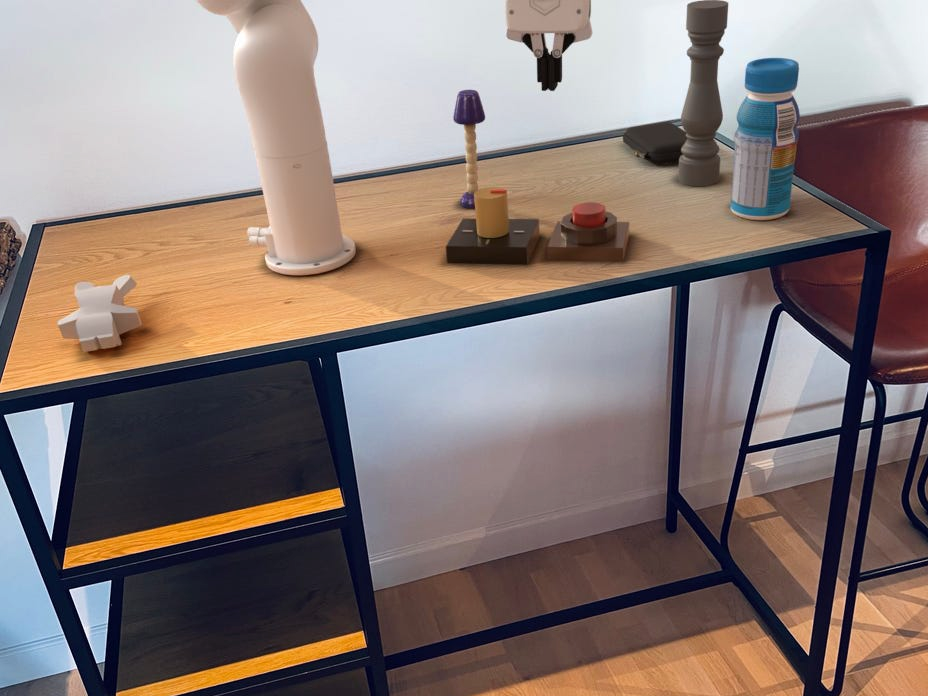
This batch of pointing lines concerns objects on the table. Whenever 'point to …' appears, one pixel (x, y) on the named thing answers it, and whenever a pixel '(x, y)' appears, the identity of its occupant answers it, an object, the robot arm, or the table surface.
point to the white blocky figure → (101, 315)
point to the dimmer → (493, 244)
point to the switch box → (589, 241)
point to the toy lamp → (469, 138)
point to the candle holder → (703, 93)
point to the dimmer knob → (491, 212)
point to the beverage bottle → (766, 140)
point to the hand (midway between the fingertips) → (549, 87)
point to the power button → (588, 214)
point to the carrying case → (656, 142)
